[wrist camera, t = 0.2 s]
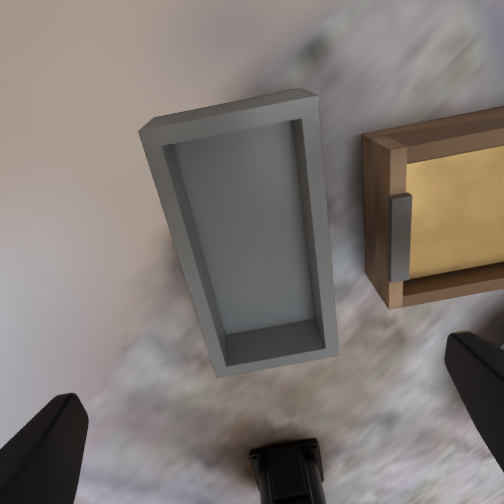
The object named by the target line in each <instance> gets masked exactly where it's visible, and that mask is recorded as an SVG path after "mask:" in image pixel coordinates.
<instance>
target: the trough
mask: <svg viewBox="0 0 504 504" xmlns="http://www.w3.org/2000/svg"><path fill="white" fill-rule="evenodd" d="M138 132H139V135H140V139H141V141H142V145H143V148H144V151H145V154H146V157H147V161H148V164H149V167H150V170H151V173H152V176H153V179H154V182H155V186H156V189H157V192H158V195H159V198H160V201H161V205H162V208H163V211H164V214H165V217H166V220H167V223H168V227H169V230H170V233H171V236H172V239H173V242H174V245H175V248H176V252H177V255H178V258H179V261H180V264H181V267H182V270H183V274H184V277H185V280H186V283H187V286H188V289H189V292H190V296H191V299H192V302H193V305H194V308H195V311H196V314H197V318H198V321H199V324H200V327H201V330H202V333H203V336H204V340H205V343H206V346H207V349H208V352H209V355H210V358H211V362H212V365H213V368H214V371H215V374H216V377H217V378H219V377H224V376H230V375H235V374H241V373H246V372H252V371H257V370H263V369H268V368H274V367H279V366H285V365H290V364H296V363H301V362H307V361H312V360H318V359H323V358H329V357H334V356H339V347H338V335H337V323H336V310H335V298H334V286H333V273H332V261H331V249H330V236H329V224H328V212H327V199H326V187H325V175H324V162H323V150H322V138H321V125H320V113H319V101H318V95H316V94H313V93H311V92H308V91H306V90H304V89H301V88H300V89H295V90H290V91H285V92H280V93H275V94H270V95H265V96H259V97H254V98H249V99H244V100H239V101H234V102H229V103H224V104H219V105H214V106H210V107H204V108H199V109H194V110H190V111H184V112H179V113H174V114H170V115H165V116H159V117H154V118H153V119H151V120H150V121H149V122H148V123H147V124H146V125H145V126H143V127H142V128H141V129H140V130H139V131H138Z"/></svg>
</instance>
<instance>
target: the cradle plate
mask: <svg viewBox="0 0 504 504" xmlns="http://www.w3.org/2000/svg"><path fill="white" fill-rule="evenodd" d="M407 192H408V193H410V194H411V195H412V219H411V244H410V268H409V279H413V278H418V277H423V276H429V275H434V274H439V273H445V272H450V271H455V270H461V269H466V268H472V267H477V266H482V265H488V264H493V263H498V262H504V145H500V146H494V147H489V148H484V149H479V150H474V151H469V152H463V153H458V154H453V155H448V156H443V157H438V158H432V159H427V160H422V161H417V162H412V163H407V174H406V193H407Z"/></svg>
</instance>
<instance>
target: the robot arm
mask: <svg viewBox="0 0 504 504" xmlns="http://www.w3.org/2000/svg"><path fill="white" fill-rule="evenodd" d="M445 365H446V368H447V370H448V372H449V374H450V376H451V378H452V380H453V382H454V384H455V386H456V388H457V390H458V392H459V394H460V396H461V399H462V401H463V403H464V405H465V407H466V409H467V411H468V413H469V415H470V417H471V419H472V421H473V423H474V424H475V426H476V428H477V430H478V432H479V433H480V435H481V437H482V439H483V440H484V442H485V443H486V445H487V447H488V448H489V450H490V451H491V453H492V455H493V456H494V458H495V459H496V461H497V463H498V464H499V466H500V467H501V469H502V471H503V472H504V349H502V348H500V347H498V346H496V345H494V344H492V343H490V342H488V341H486V340H484V339H482V338H481V337H479V336H477V335H475V334H473V333H471V332H468V331H462V332H455V333H451V334H449V336H448V339H447V345H446V351H445ZM88 424H89V419H88V414H87V412H86V410H85V409H84V407H83V405H82V403H81V401H80V399H79V398H78V396H77V395H76V394H75V393H67V394H61V395H57V396H56V397H54V398H53V399H52V400H51V401H50V402H49V403H48V404H47V405H46V406H45V407H44V408H43V409H41V410H40V412H38V414H36V415H35V416H34V417H33V418H32V419H31V420H30V421H29V422H28V423H27V424H26V425H25V426H24V427H23V428H22V429H21V430H20V431H19V432H18V433H17V434H16V435H14V437H12V438H11V439H10V440H9V441H8V442H7V443H6V444H5V445H4V446H3V447H2V448H1V449H0V504H73V503H74V499H75V495H76V491H77V486H78V481H79V476H80V470H81V464H82V459H83V453H84V447H85V442H86V436H87V430H88ZM249 459H250V462H251V466H252V469H253V472H254V476H255V479H256V482H257V486H258V489H259V492H260V500H261V504H326V499H325V495H324V491H323V486H322V482H323V481H324V477H323V470H322V463H321V456H320V449H319V444H318V441H317V440H308V441H302V442H297V443H291V444H285V445H280V446H274V447H269V448H263V449H257V450H252V451H250V452H249Z"/></svg>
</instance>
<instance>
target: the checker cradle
mask: <svg viewBox="0 0 504 504" xmlns="http://www.w3.org/2000/svg"><path fill="white" fill-rule="evenodd" d="M500 145H504V106H503V107H498V108H493V109H487V110H482V111H477V112H472V113H467V114H462V115H457V116H452V117H447V118H441V119H436V120H431V121H426V122H421V123H416V124H411V125H406V126H401V127H396V128H390V129H385V130H380V131H375V132H370V133H365V134H362V153H363V189H364V225H365V260H366V275H367V277H368V278H369V280H370V281H371V283H372V284H373V286H374V288H375V289H376V291H377V292H378V294H379V295H380V297H381V298H382V300H383V301H384V303H385V304H386V306H387V307H388V309H389V310H390V309H396V308H401V307H406V306H412V305H417V304H423V303H428V302H433V301H439V300H444V299H450V298H455V297H461V296H466V295H471V294H477V293H482V292H488V291H493V290H499V289H504V262H498V263H493V264H488V265H482V266H477V267H472V268H466V269H461V270H455V271H450V272H445V273H439V274H434V275H429V276H423V277H418V278H413V279H409V268H410V244H411V219H412V195H411V194H410V193H408V192H407V193H406V174H407V163H412V162H417V161H422V160H427V159H432V158H438V157H443V156H448V155H453V154H458V153H463V152H469V151H474V150H479V149H484V148H489V147H494V146H500Z"/></svg>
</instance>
